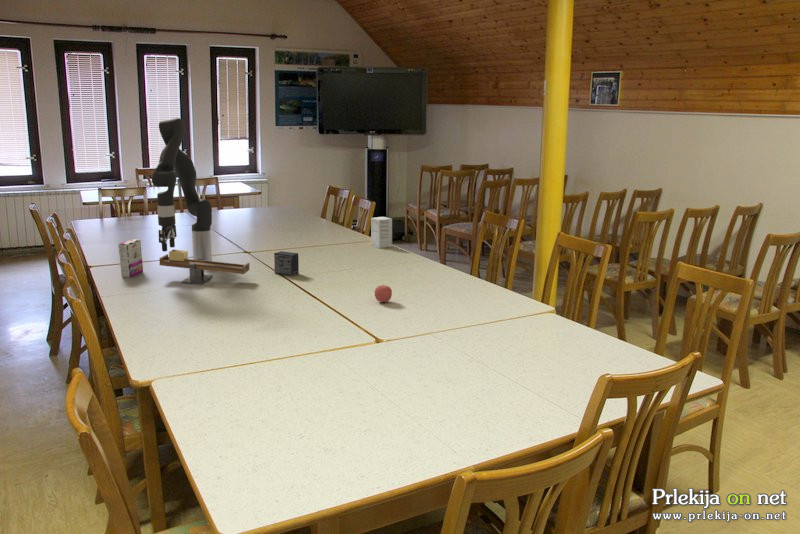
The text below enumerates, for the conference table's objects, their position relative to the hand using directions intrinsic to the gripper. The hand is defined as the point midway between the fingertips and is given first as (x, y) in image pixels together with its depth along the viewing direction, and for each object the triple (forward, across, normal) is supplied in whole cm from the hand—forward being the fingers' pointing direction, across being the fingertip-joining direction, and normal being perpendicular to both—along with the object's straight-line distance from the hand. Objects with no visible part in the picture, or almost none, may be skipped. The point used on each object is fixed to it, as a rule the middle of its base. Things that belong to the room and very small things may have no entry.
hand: (168, 249), depth 317 cm
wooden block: (+3, 0, +1) cm, 3 cm away
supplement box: (+15, -91, +90) cm, 129 cm away
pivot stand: (+14, 0, +13) cm, 19 cm away
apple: (+15, +22, +103) cm, 106 cm away
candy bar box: (+15, -5, -21) cm, 26 cm away
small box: (+15, -19, +51) cm, 56 cm away
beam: (+8, 0, +17) cm, 19 cm away
